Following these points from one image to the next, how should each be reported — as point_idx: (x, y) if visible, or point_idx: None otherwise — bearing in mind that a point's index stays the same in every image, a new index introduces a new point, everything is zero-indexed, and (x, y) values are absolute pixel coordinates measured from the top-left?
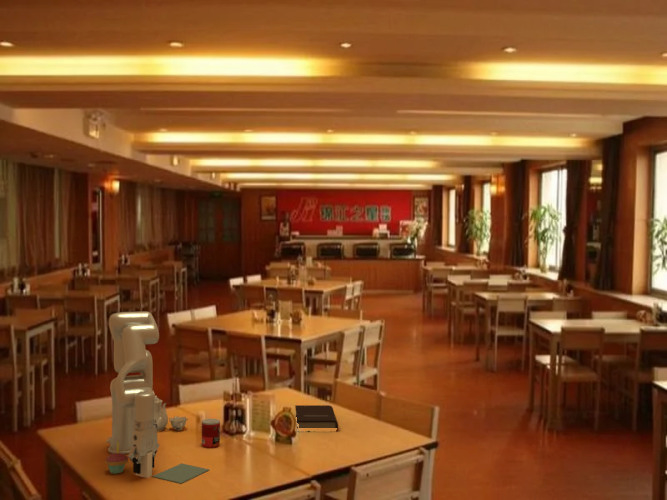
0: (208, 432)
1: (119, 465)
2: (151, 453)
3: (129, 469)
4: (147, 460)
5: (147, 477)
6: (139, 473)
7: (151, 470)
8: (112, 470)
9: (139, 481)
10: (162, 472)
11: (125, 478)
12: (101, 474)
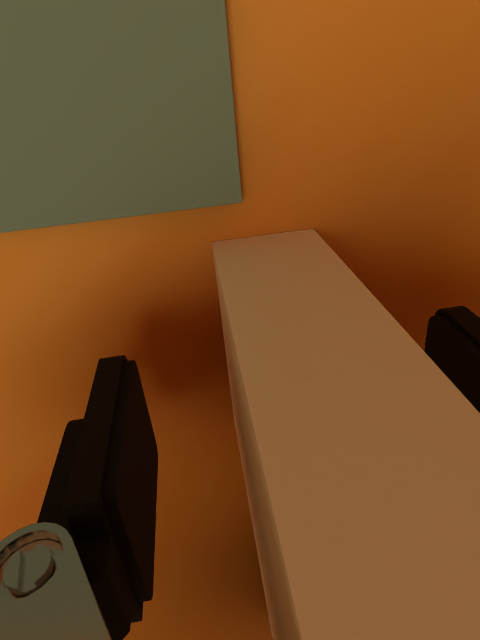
0: None
1: None
2: (357, 621)
3: (223, 554)
4: (465, 403)
5: (311, 233)
6: (458, 307)
7: (237, 276)
8: None
9: (468, 211)
10: (15, 204)
11: None
12: None
